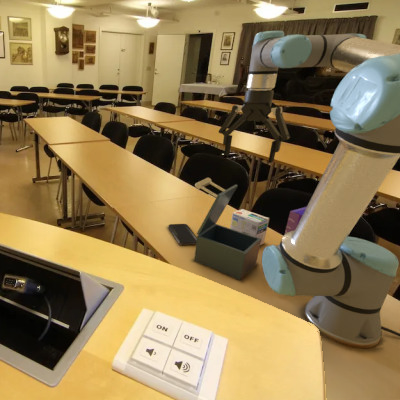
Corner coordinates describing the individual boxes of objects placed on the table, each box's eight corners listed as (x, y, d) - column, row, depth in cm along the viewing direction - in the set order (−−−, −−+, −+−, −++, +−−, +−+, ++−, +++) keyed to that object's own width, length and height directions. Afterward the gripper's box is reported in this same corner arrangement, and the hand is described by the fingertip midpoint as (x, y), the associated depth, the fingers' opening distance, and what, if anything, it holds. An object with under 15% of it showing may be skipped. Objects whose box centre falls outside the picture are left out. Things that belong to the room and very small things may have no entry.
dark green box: (256, 264, 107) (261, 238, 104) (240, 280, 100) (245, 253, 96) (211, 247, 118) (215, 223, 114) (194, 260, 110) (197, 235, 106)
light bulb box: (264, 243, 119) (270, 217, 115) (254, 249, 116) (259, 222, 112) (238, 232, 128) (242, 208, 124) (227, 237, 124) (232, 212, 120)
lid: (238, 185, 104) (212, 171, 109) (220, 195, 97) (193, 179, 102) (216, 223, 114) (193, 208, 119) (198, 235, 106) (175, 218, 111)
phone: (186, 223, 133) (200, 241, 120) (186, 226, 134) (199, 244, 120) (167, 224, 133) (179, 242, 119) (167, 226, 134) (179, 245, 120)
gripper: (312, 89, 90) (295, 162, 98) (223, 88, 107) (215, 150, 115) (305, 91, 85) (288, 167, 93) (213, 89, 102) (205, 154, 110)
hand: (247, 158), depth 104 cm, fingers open, 13 cm apart
